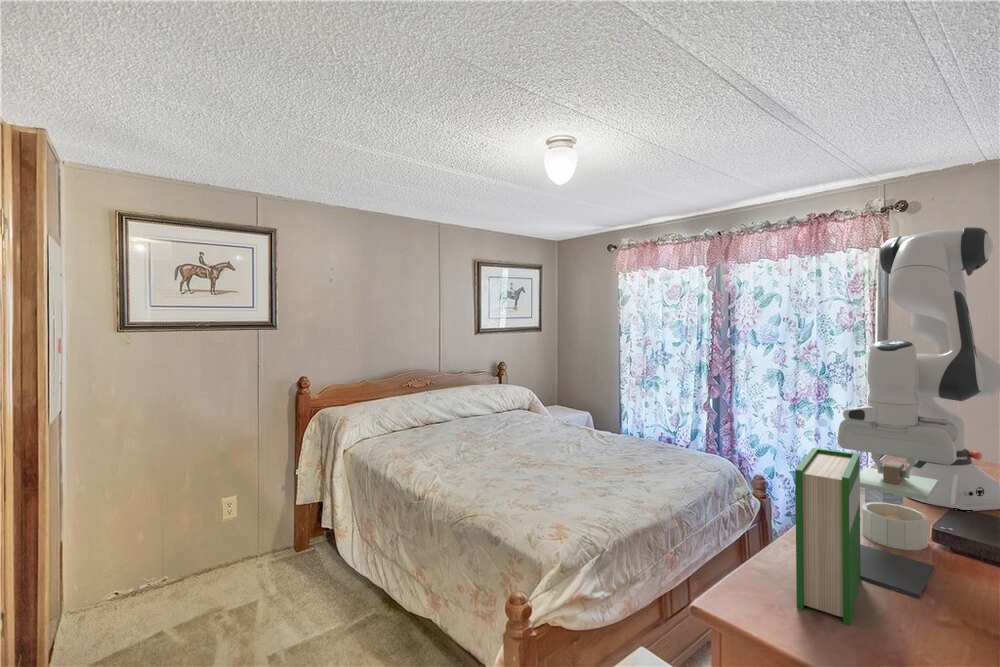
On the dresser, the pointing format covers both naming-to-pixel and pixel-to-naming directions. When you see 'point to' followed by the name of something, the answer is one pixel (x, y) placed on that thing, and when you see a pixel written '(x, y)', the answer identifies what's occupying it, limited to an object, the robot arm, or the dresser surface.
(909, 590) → the mat
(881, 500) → the medicine box
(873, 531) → the bowl
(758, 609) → the dresser surface
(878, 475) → the lid
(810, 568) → the hardback book
